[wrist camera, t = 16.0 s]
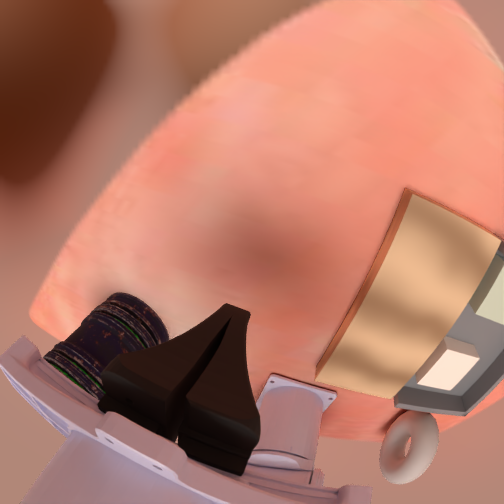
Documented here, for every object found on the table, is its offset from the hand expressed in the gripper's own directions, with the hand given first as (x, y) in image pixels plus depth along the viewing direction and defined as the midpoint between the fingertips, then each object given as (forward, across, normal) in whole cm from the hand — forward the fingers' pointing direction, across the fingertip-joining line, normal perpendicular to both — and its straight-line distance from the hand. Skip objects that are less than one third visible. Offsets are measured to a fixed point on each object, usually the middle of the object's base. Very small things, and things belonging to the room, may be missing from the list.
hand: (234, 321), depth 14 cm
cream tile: (+9, -20, +5) cm, 23 cm away
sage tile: (+9, -21, -4) cm, 23 cm away
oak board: (+9, -12, +2) cm, 16 cm away
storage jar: (+10, +13, +16) cm, 23 cm away
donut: (+10, -23, +16) cm, 30 cm away
